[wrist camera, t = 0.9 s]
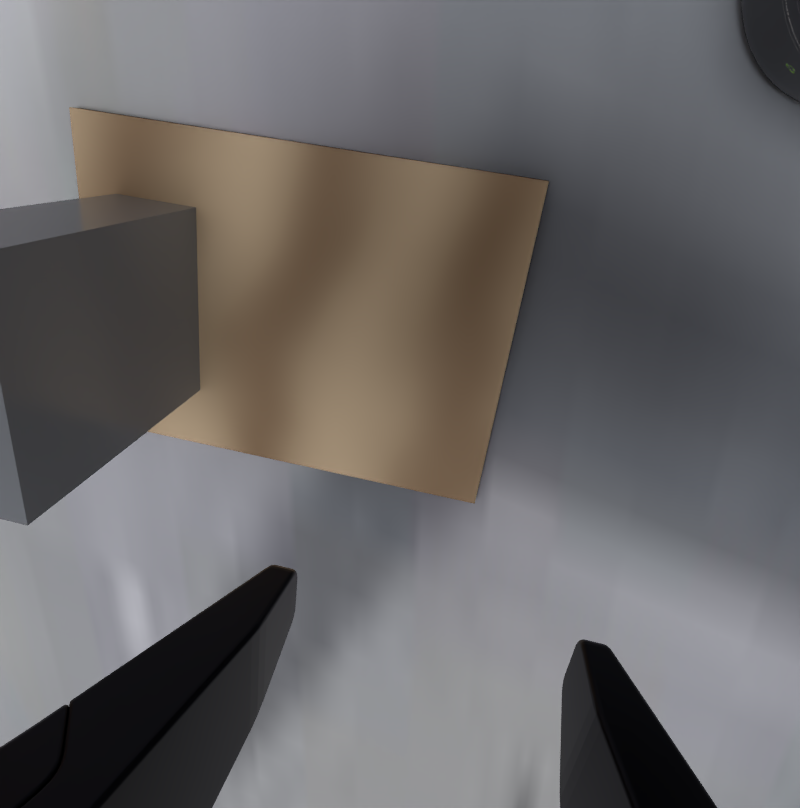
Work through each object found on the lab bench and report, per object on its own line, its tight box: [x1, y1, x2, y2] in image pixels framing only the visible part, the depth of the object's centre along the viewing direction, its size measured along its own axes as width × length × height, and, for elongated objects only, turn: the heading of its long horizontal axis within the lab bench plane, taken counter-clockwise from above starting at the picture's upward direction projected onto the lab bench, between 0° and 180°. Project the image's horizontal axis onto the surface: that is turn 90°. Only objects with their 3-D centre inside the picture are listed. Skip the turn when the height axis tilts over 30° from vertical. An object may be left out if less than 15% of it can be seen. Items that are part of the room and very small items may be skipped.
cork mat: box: [69, 107, 549, 503], centre depth 21 cm, size 16×12×1 cm
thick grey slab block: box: [0, 194, 200, 525], centre depth 18 cm, size 3×7×9 cm, turn 173°
